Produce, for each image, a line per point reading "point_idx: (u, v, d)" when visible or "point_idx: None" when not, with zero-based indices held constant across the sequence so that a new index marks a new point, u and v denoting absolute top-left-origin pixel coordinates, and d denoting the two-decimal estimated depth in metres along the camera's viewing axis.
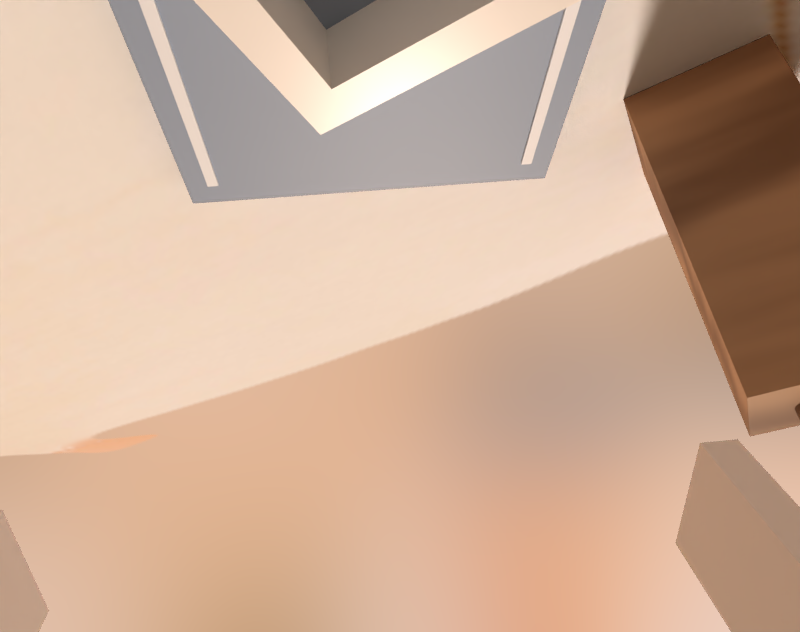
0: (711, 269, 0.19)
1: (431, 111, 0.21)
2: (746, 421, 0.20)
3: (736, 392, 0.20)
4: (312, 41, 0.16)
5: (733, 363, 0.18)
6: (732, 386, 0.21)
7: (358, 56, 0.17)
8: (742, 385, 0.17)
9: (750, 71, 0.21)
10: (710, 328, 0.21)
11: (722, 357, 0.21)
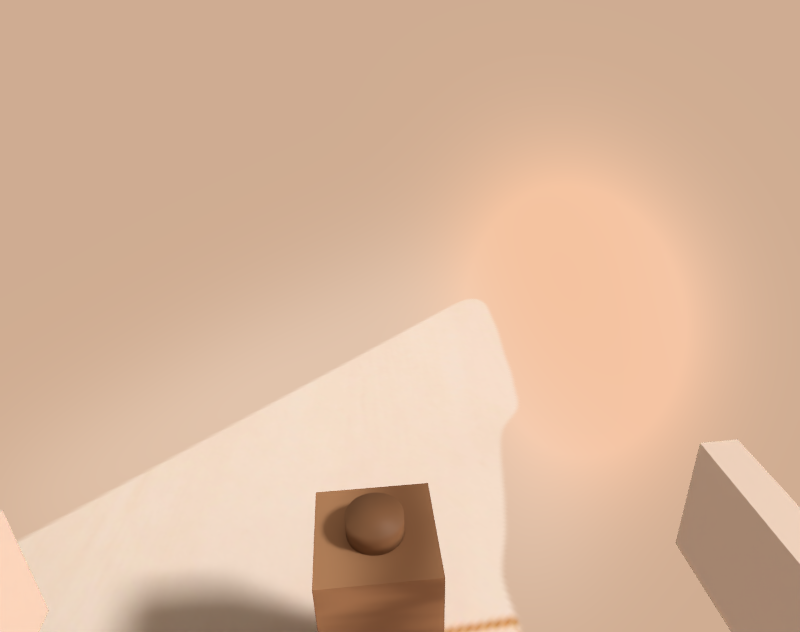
0: None
1: None
2: (412, 585, 0.23)
3: (393, 601, 0.23)
4: None
5: (315, 608, 0.23)
6: (412, 606, 0.24)
7: None
8: (314, 596, 0.23)
9: None
10: None
11: (391, 621, 0.24)
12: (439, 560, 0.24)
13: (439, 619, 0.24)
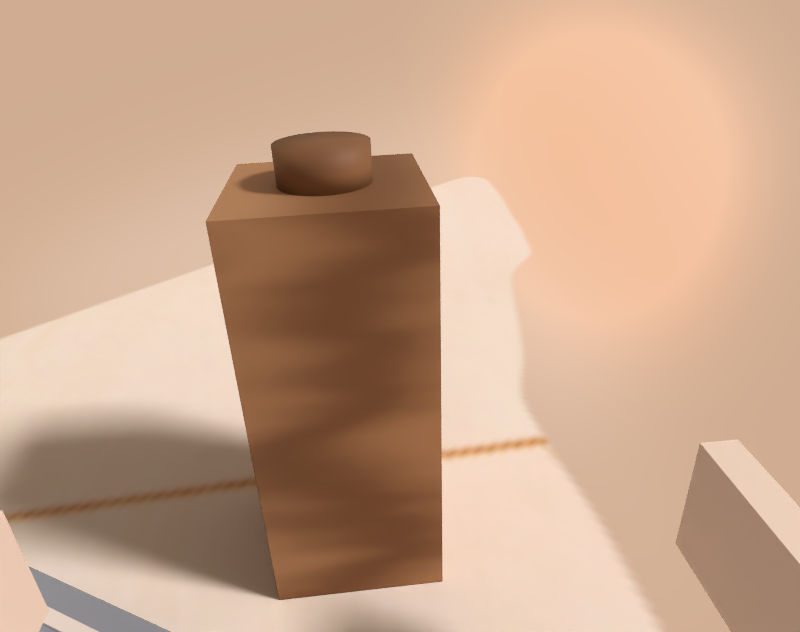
0: None
1: None
2: (382, 219, 0.13)
3: (351, 257, 0.14)
4: None
5: (216, 268, 0.13)
6: (385, 272, 0.14)
7: None
8: (212, 238, 0.13)
9: None
10: (357, 349, 0.15)
11: (350, 307, 0.14)
12: (430, 195, 0.14)
13: (432, 306, 0.14)
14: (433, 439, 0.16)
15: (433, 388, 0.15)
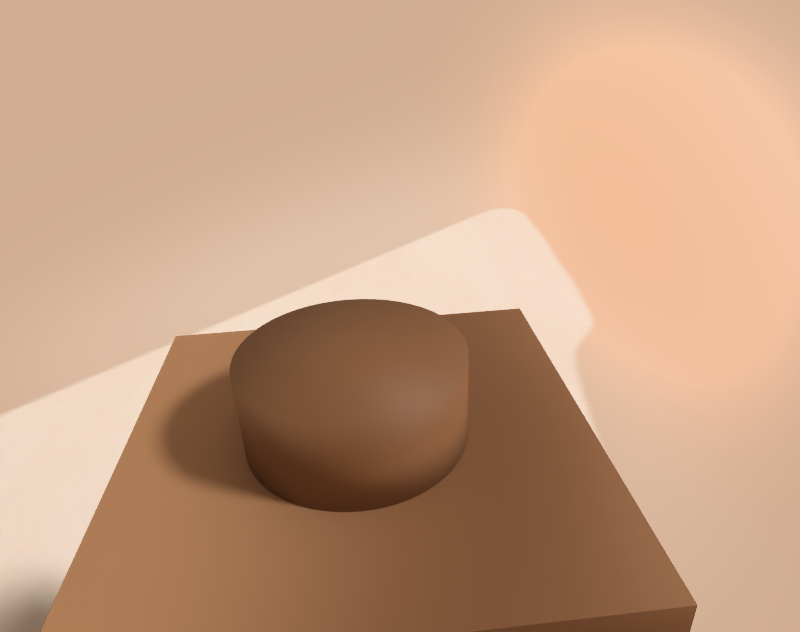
0: None
1: None
2: None
3: None
4: None
5: None
6: None
7: None
8: None
9: None
10: None
11: None
12: (639, 525, 0.05)
13: None
14: None
15: None
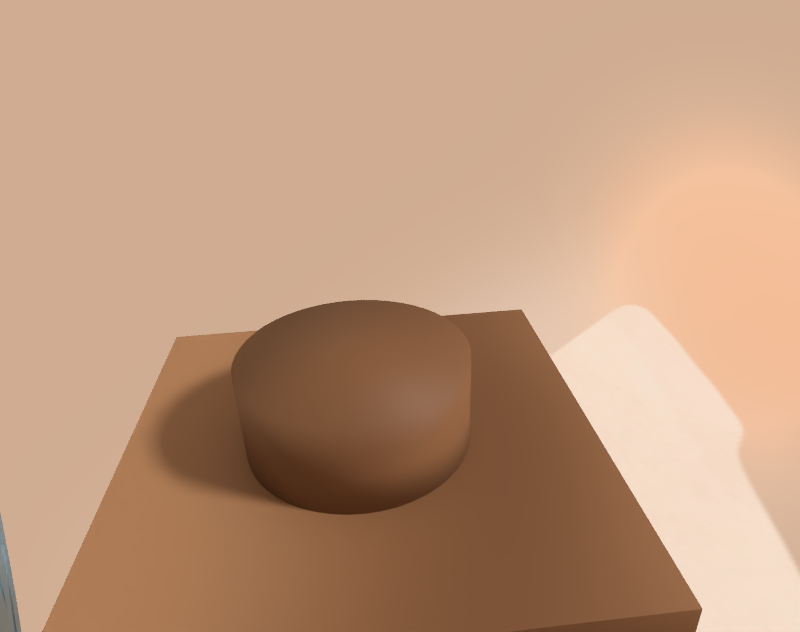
0: None
1: None
2: None
3: None
4: None
5: None
6: None
7: None
8: None
9: None
10: None
11: None
12: (643, 528, 0.05)
13: None
14: None
15: None
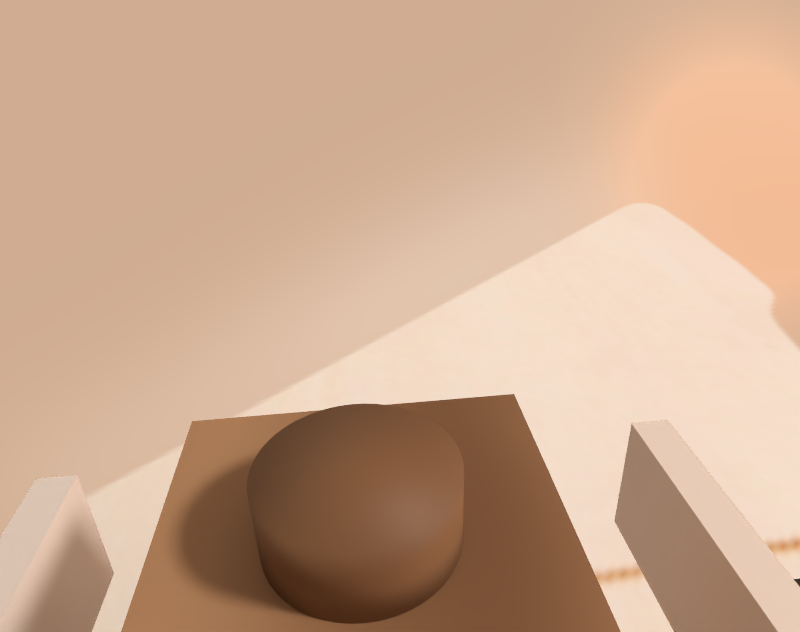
0: None
1: None
2: None
3: None
4: None
5: None
6: None
7: None
8: None
9: None
10: None
11: None
12: None
13: None
14: None
15: None
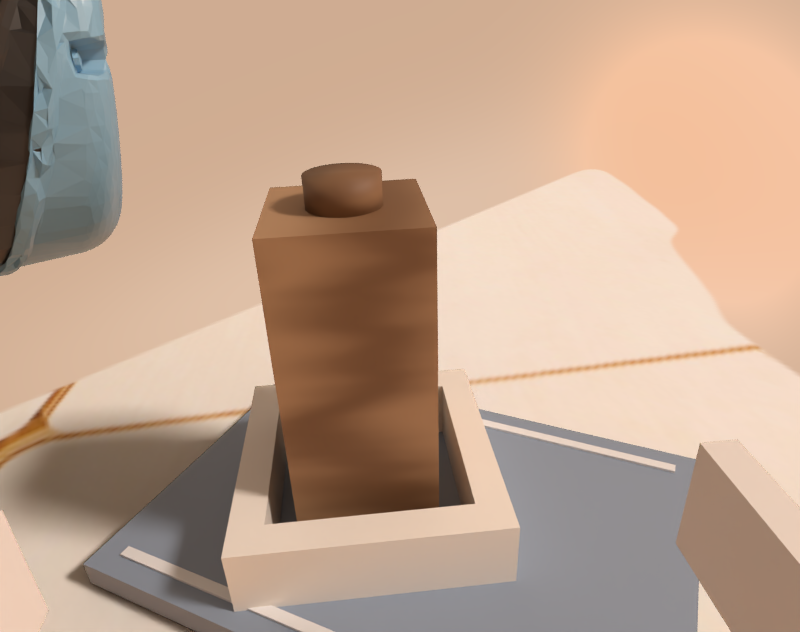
0: None
1: (586, 516, 0.23)
2: (391, 238, 0.17)
3: (366, 267, 0.17)
4: None
5: (259, 275, 0.17)
6: (393, 279, 0.17)
7: (469, 498, 0.22)
8: (256, 252, 0.17)
9: None
10: (369, 341, 0.18)
11: (365, 307, 0.18)
12: (429, 217, 0.17)
13: (430, 307, 0.18)
14: (431, 416, 0.20)
15: (431, 374, 0.19)
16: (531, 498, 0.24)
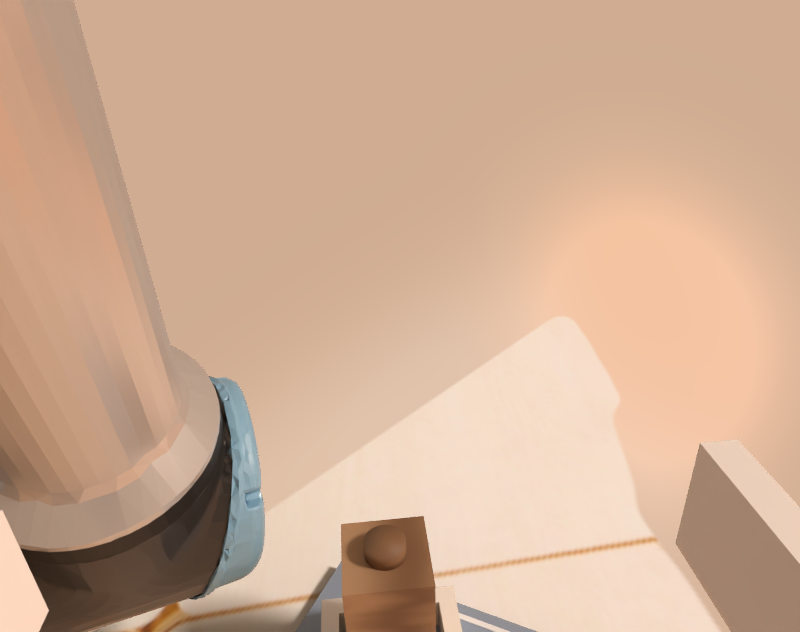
0: None
1: None
2: (412, 591, 0.33)
3: (399, 603, 0.33)
4: None
5: (344, 609, 0.33)
6: (412, 607, 0.33)
7: None
8: (343, 600, 0.33)
9: None
10: (399, 631, 0.34)
11: (397, 618, 0.34)
12: (431, 573, 0.33)
13: (432, 616, 0.34)
14: None
15: None
16: None
